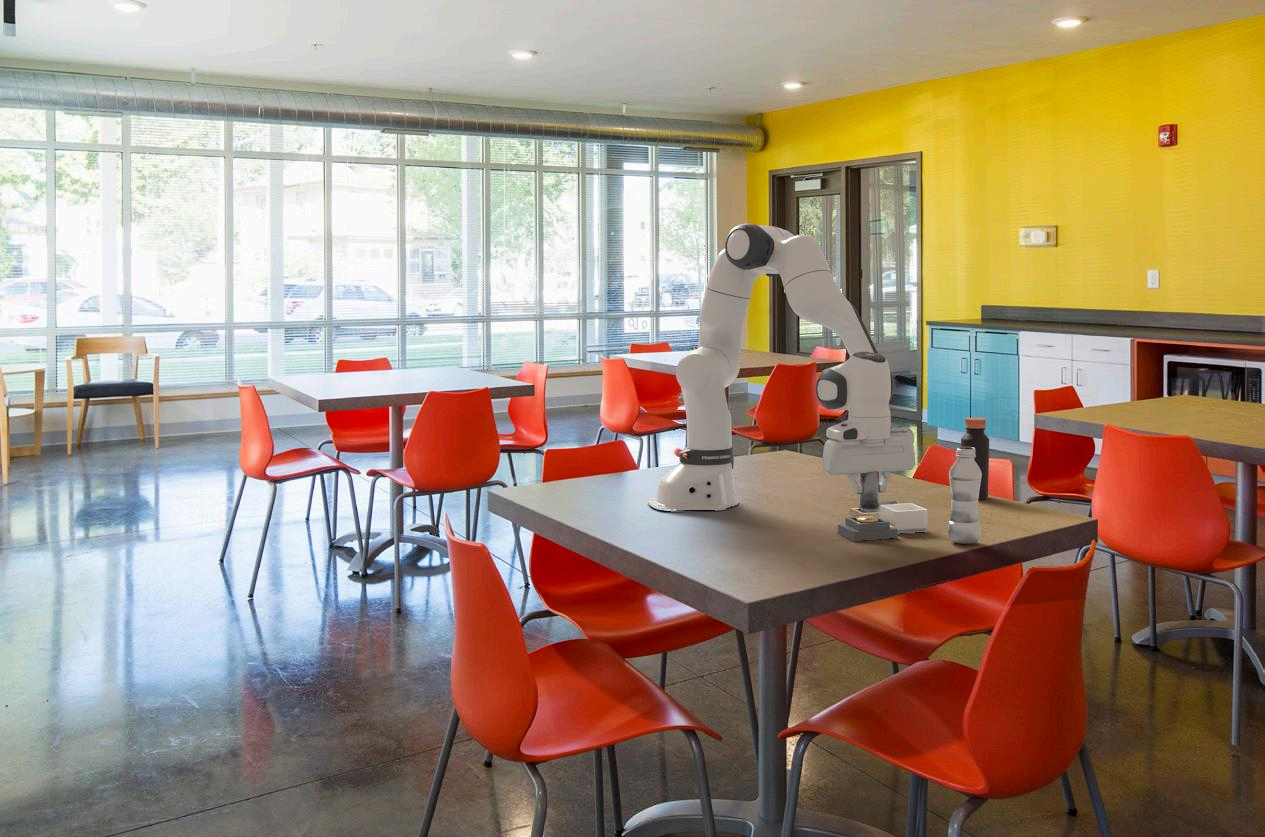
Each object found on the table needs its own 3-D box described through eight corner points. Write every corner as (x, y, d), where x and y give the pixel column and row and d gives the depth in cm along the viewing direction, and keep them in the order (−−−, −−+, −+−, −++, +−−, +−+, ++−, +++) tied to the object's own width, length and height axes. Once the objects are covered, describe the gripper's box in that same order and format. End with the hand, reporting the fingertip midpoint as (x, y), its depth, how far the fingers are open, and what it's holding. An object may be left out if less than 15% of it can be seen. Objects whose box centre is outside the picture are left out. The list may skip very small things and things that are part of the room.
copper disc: (862, 524, 225) (862, 520, 225) (852, 520, 229) (852, 516, 229) (882, 523, 226) (882, 519, 226) (872, 518, 230) (872, 515, 230)
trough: (861, 527, 236) (862, 513, 236) (850, 521, 242) (850, 508, 242) (907, 523, 239) (907, 510, 238) (894, 518, 245) (894, 505, 244)
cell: (864, 509, 225) (864, 469, 224) (856, 506, 229) (856, 466, 228) (882, 508, 226) (882, 468, 225) (873, 504, 230) (873, 465, 229)
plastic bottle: (987, 545, 218) (989, 449, 215) (958, 548, 216) (960, 451, 213) (969, 538, 224) (971, 445, 222) (940, 541, 222) (942, 446, 220)
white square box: (895, 534, 229) (895, 511, 228) (879, 527, 236) (879, 505, 235) (927, 532, 230) (927, 509, 230) (910, 524, 238) (911, 503, 237)
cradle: (853, 541, 223) (853, 525, 223) (837, 533, 231) (838, 517, 230) (897, 538, 225) (897, 522, 225) (880, 530, 233) (880, 514, 233)
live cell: (865, 522, 237) (866, 504, 237) (858, 518, 241) (858, 501, 241) (901, 519, 239) (901, 502, 239) (892, 516, 243) (893, 499, 243)
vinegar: (988, 495, 269) (990, 417, 266) (987, 500, 263) (989, 420, 260) (961, 494, 271) (962, 416, 269) (958, 499, 265) (960, 419, 263)
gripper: (906, 424, 231) (906, 487, 232) (819, 429, 226) (819, 493, 228) (921, 428, 225) (920, 492, 226) (831, 433, 220) (831, 498, 221)
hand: (869, 493), depth 227 cm, fingers closed on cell, 4 cm apart
